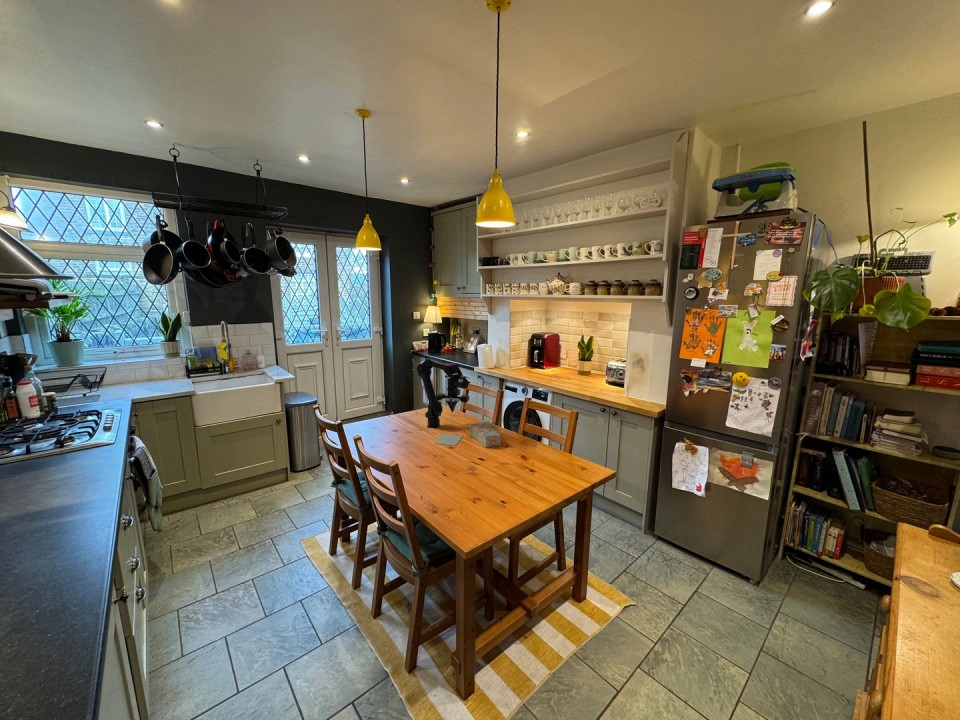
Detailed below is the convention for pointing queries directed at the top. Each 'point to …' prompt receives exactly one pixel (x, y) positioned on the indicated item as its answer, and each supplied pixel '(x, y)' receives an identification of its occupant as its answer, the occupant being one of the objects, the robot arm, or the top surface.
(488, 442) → the stack of blocks
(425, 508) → the top surface
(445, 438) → the grey rubber mat
